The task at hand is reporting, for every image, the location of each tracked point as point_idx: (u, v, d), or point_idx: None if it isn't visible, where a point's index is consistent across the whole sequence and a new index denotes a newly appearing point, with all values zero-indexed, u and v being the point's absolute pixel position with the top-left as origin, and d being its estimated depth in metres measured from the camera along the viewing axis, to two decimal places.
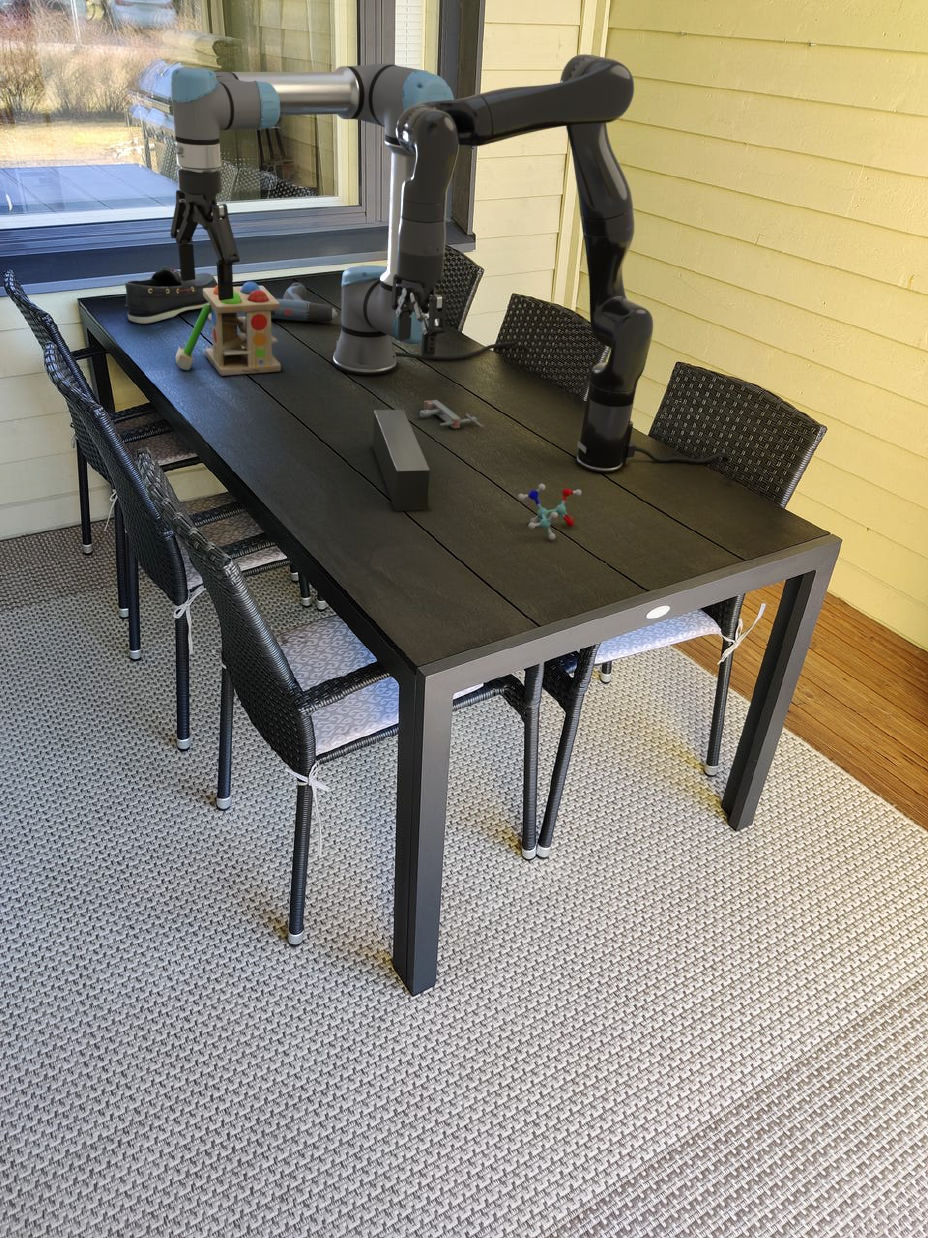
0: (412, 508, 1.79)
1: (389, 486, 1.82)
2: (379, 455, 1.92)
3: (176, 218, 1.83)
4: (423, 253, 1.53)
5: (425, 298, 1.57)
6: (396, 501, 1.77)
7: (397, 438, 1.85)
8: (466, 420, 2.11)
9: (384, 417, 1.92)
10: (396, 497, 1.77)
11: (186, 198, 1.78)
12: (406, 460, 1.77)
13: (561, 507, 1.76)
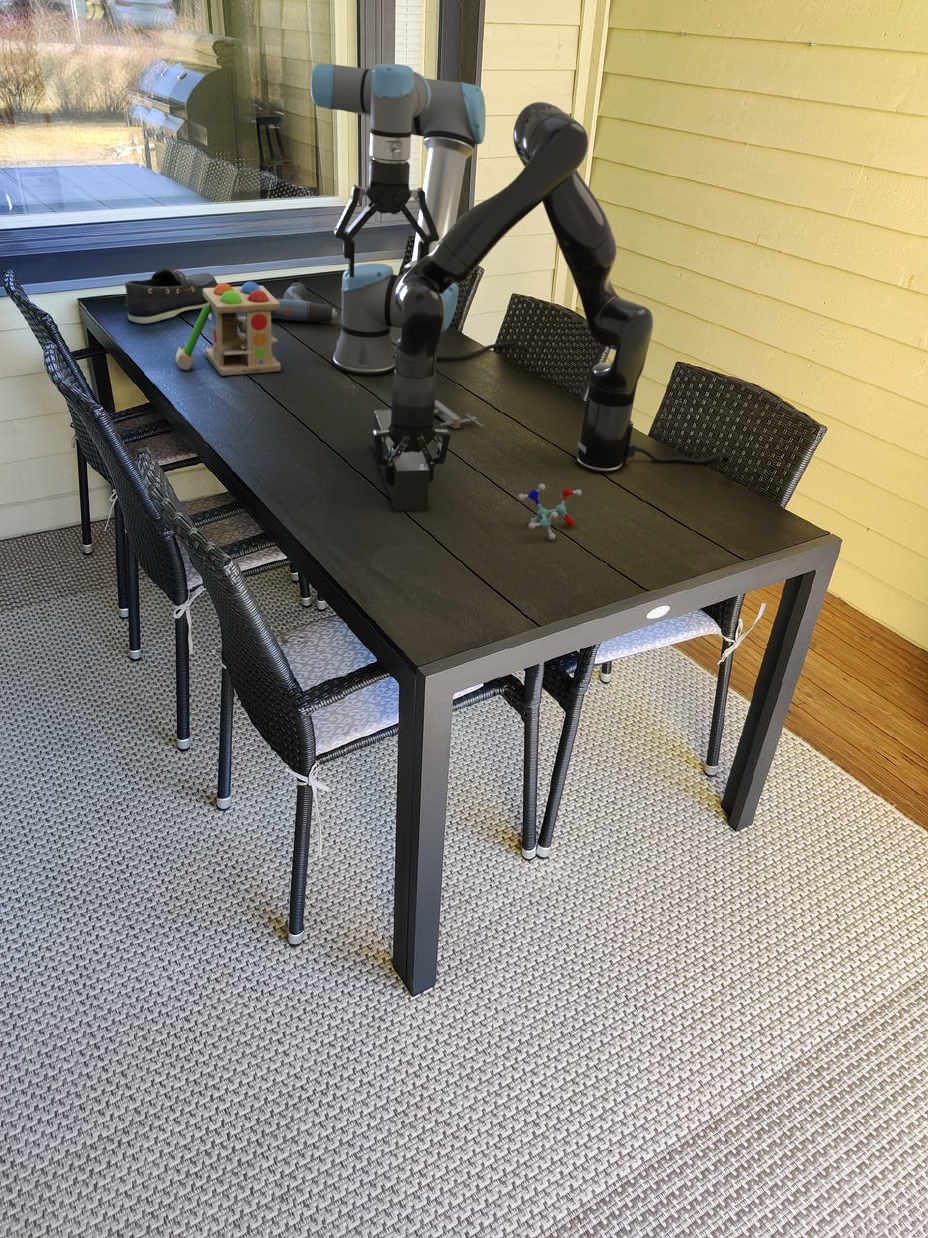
0: (412, 508, 1.79)
1: (389, 486, 1.82)
2: None
3: (350, 216, 1.85)
4: None
5: None
6: (396, 501, 1.77)
7: None
8: (466, 420, 2.11)
9: (384, 417, 1.92)
10: (396, 497, 1.77)
11: (372, 192, 1.84)
12: (406, 460, 1.77)
13: (561, 507, 1.76)
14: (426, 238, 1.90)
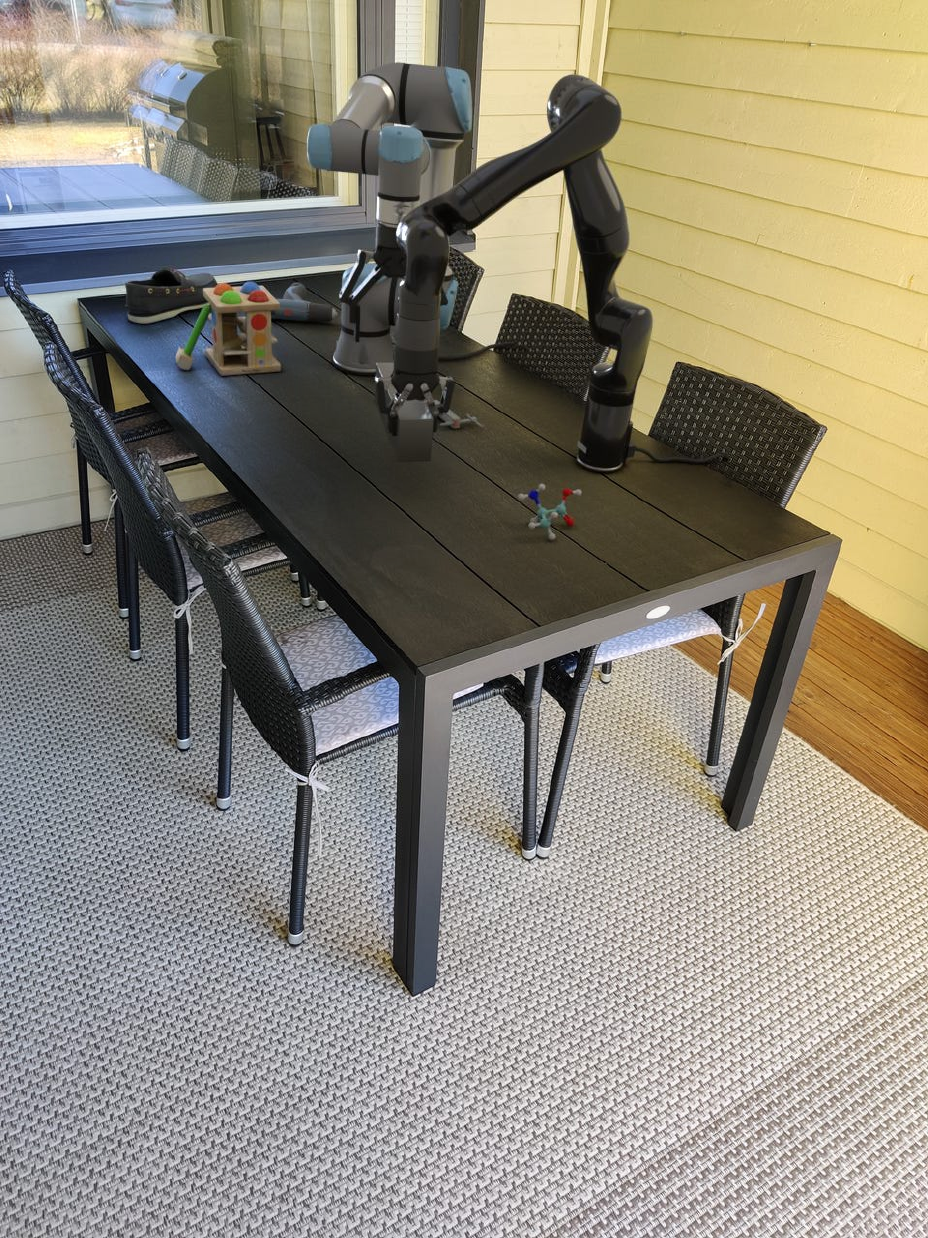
0: (415, 459, 1.73)
1: (392, 438, 1.77)
2: None
3: (355, 280, 1.78)
4: None
5: None
6: (399, 451, 1.72)
7: None
8: (466, 420, 2.11)
9: (386, 370, 1.87)
10: (399, 447, 1.71)
11: (378, 256, 1.77)
12: (409, 410, 1.72)
13: (561, 507, 1.76)
14: None
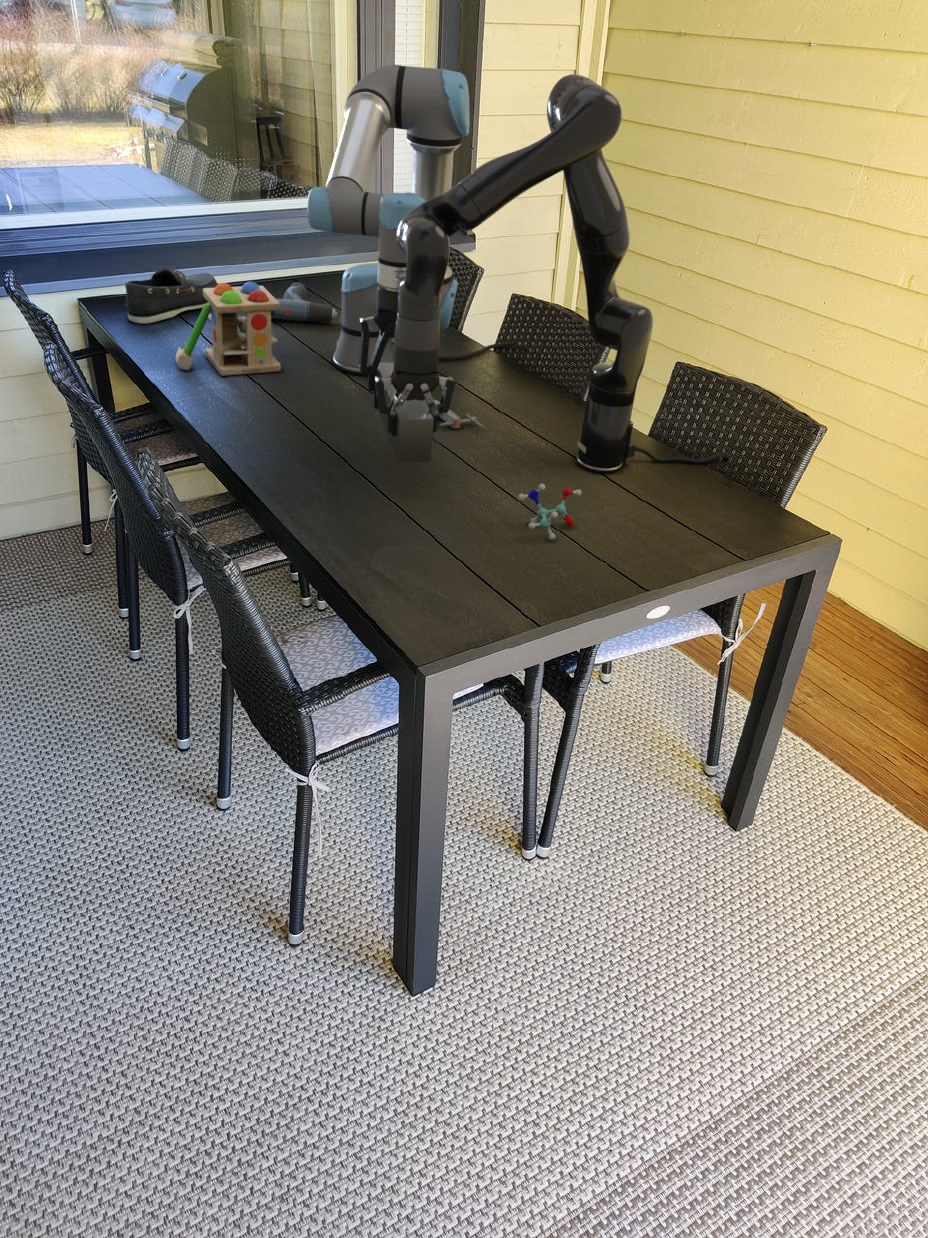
0: (415, 459, 1.73)
1: (391, 437, 1.77)
2: None
3: (367, 348, 1.83)
4: None
5: None
6: (399, 451, 1.72)
7: None
8: (466, 420, 2.11)
9: (386, 369, 1.87)
10: (399, 447, 1.71)
11: (379, 319, 1.80)
12: (409, 410, 1.72)
13: (561, 507, 1.76)
14: None
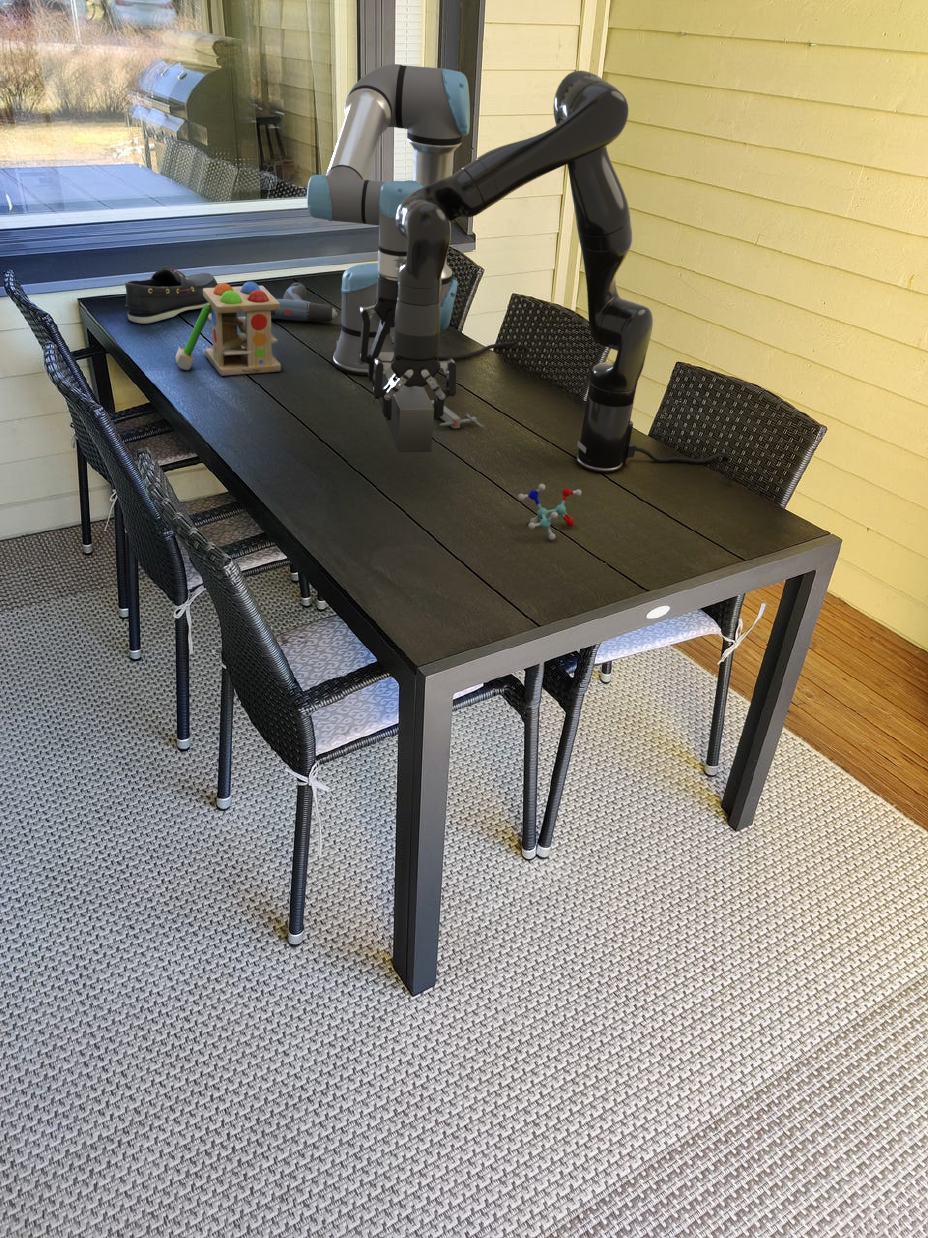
0: (416, 450, 1.72)
1: (392, 428, 1.76)
2: (381, 398, 1.86)
3: (367, 338, 1.82)
4: None
5: None
6: (399, 442, 1.71)
7: None
8: (466, 420, 2.11)
9: (387, 359, 1.86)
10: (399, 438, 1.70)
11: (380, 308, 1.79)
12: (410, 400, 1.71)
13: (561, 507, 1.76)
14: None
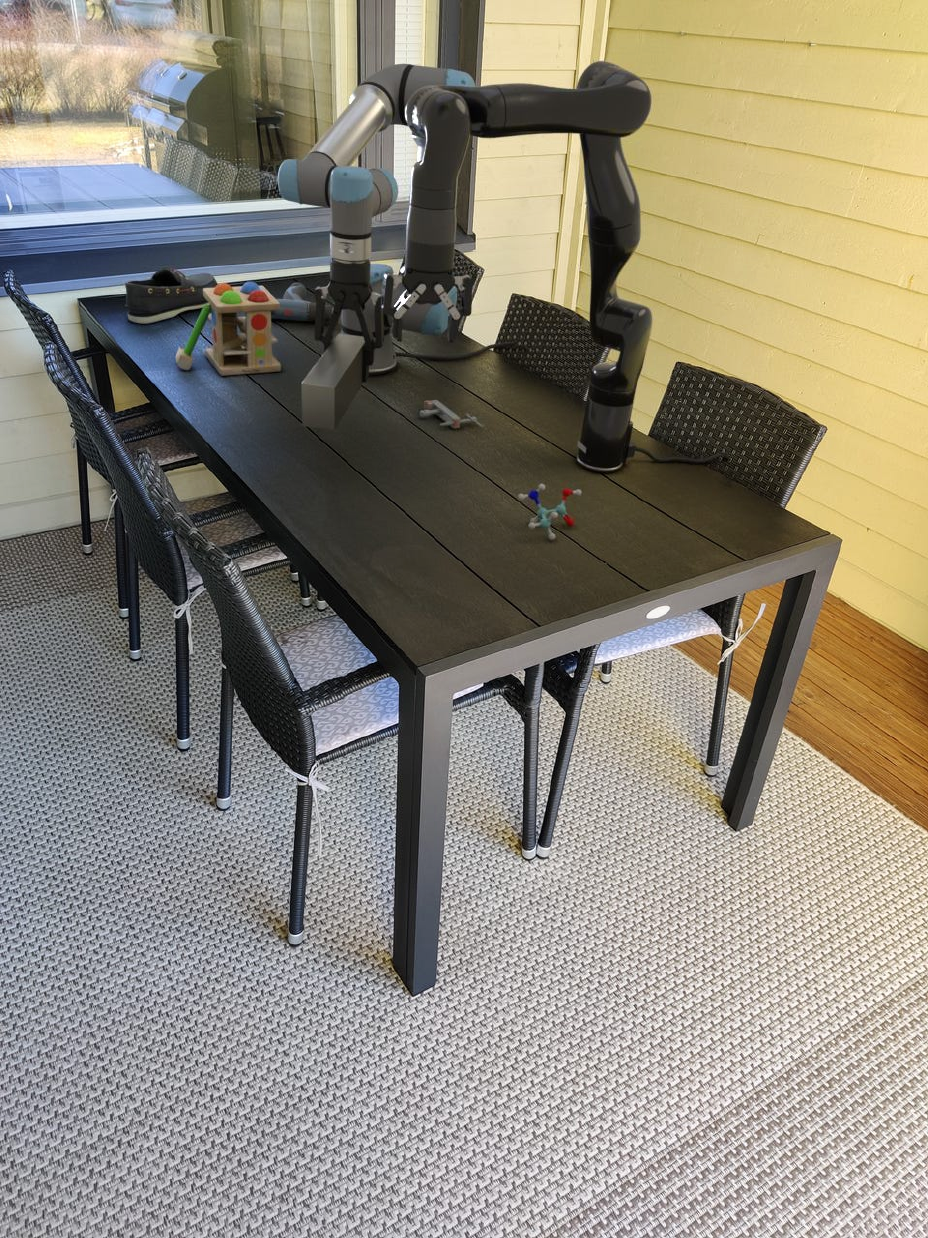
0: (319, 426, 1.76)
1: None
2: None
3: (320, 317, 1.88)
4: None
5: None
6: (303, 416, 1.75)
7: (333, 358, 1.82)
8: (466, 420, 2.11)
9: (341, 340, 1.90)
10: (302, 411, 1.75)
11: (331, 289, 1.85)
12: (320, 377, 1.75)
13: (561, 507, 1.76)
14: (369, 344, 1.89)
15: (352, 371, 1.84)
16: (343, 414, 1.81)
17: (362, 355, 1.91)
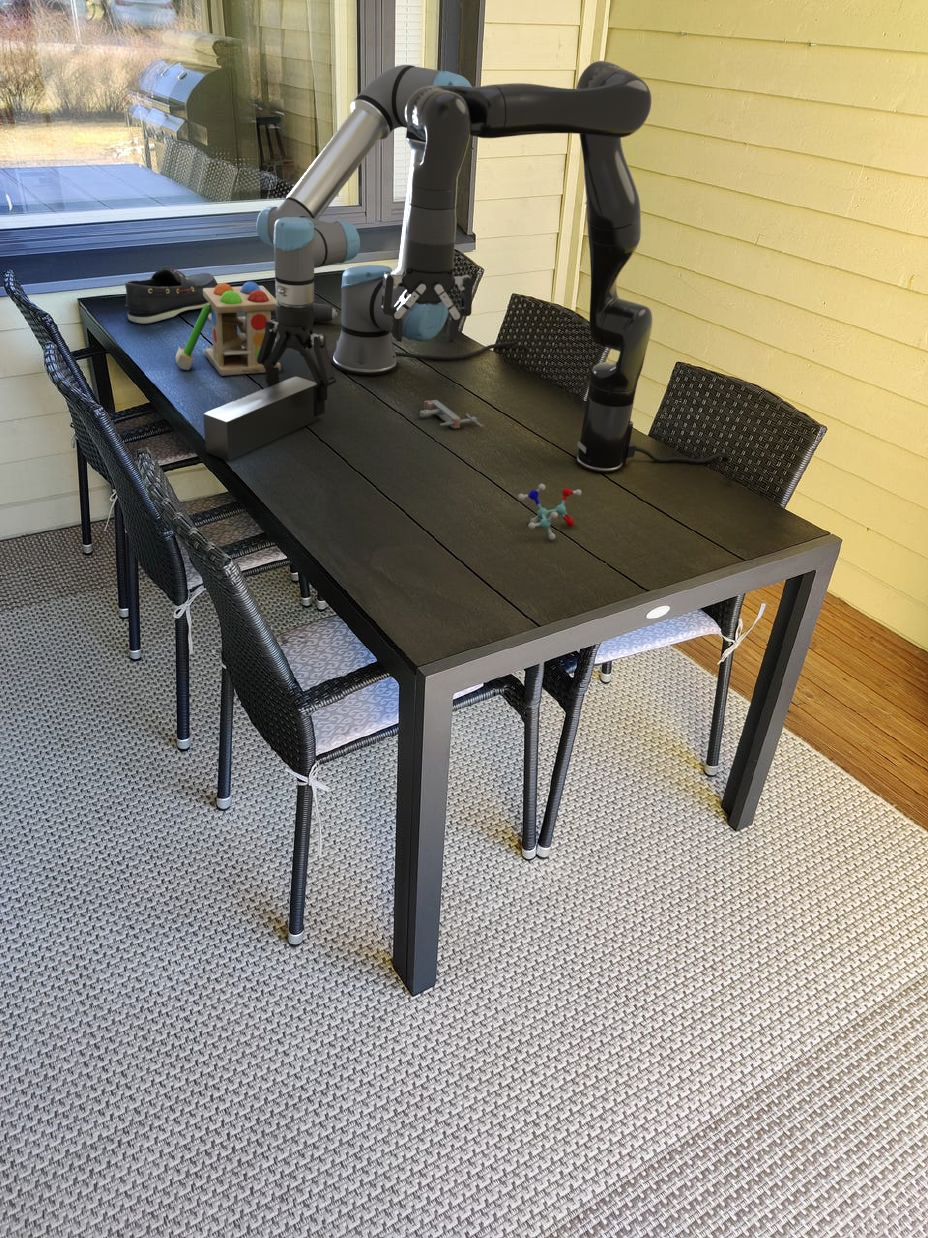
0: (218, 455, 1.90)
1: None
2: None
3: (265, 346, 2.01)
4: None
5: None
6: (205, 443, 1.90)
7: (260, 397, 1.96)
8: (466, 420, 2.11)
9: (288, 382, 2.03)
10: (205, 439, 1.90)
11: (279, 328, 1.97)
12: (226, 411, 1.89)
13: (561, 507, 1.76)
14: (318, 381, 1.98)
15: (275, 411, 1.96)
16: (252, 449, 1.94)
17: (302, 399, 2.02)
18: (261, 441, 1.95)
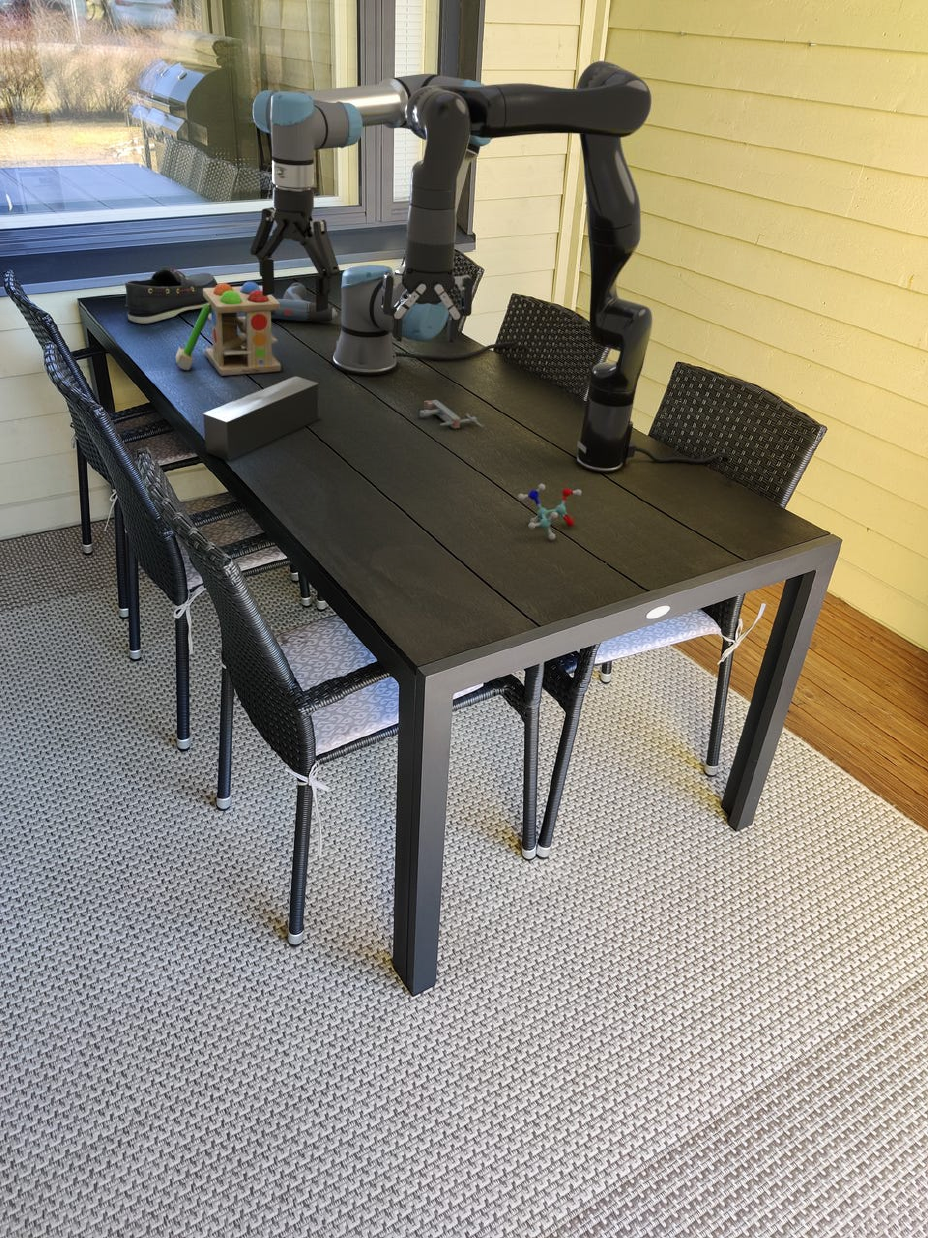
0: (218, 455, 1.90)
1: None
2: None
3: (260, 236, 1.89)
4: None
5: None
6: (205, 443, 1.90)
7: (260, 397, 1.96)
8: (466, 420, 2.11)
9: (288, 382, 2.03)
10: (205, 439, 1.90)
11: (276, 216, 1.85)
12: (226, 411, 1.89)
13: (561, 507, 1.76)
14: (321, 271, 1.85)
15: (275, 411, 1.96)
16: (252, 449, 1.94)
17: (302, 399, 2.02)
18: (261, 441, 1.95)
